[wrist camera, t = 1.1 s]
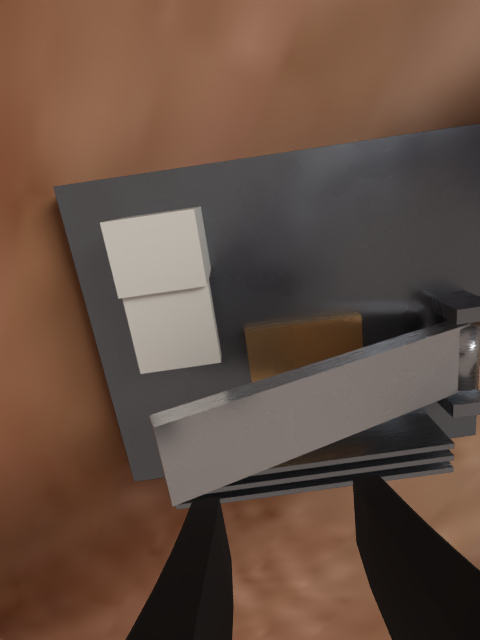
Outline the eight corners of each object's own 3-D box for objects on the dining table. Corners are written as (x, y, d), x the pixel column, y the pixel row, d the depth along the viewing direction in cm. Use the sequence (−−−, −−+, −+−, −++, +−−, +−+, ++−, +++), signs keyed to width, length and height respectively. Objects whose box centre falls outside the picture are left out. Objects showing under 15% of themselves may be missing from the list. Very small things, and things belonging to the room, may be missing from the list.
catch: (200, 206, 15) (194, 208, 12) (222, 336, 17) (220, 367, 14) (125, 217, 15) (99, 222, 12) (154, 345, 17) (138, 378, 14)
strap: (459, 313, 17) (490, 321, 16) (457, 375, 18) (485, 386, 16) (147, 410, 13) (155, 432, 11) (166, 485, 13) (174, 512, 12)
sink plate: (470, 128, 16) (546, 106, 12) (458, 418, 20) (511, 469, 16) (68, 187, 16) (19, 185, 12) (140, 461, 21) (121, 522, 17)
